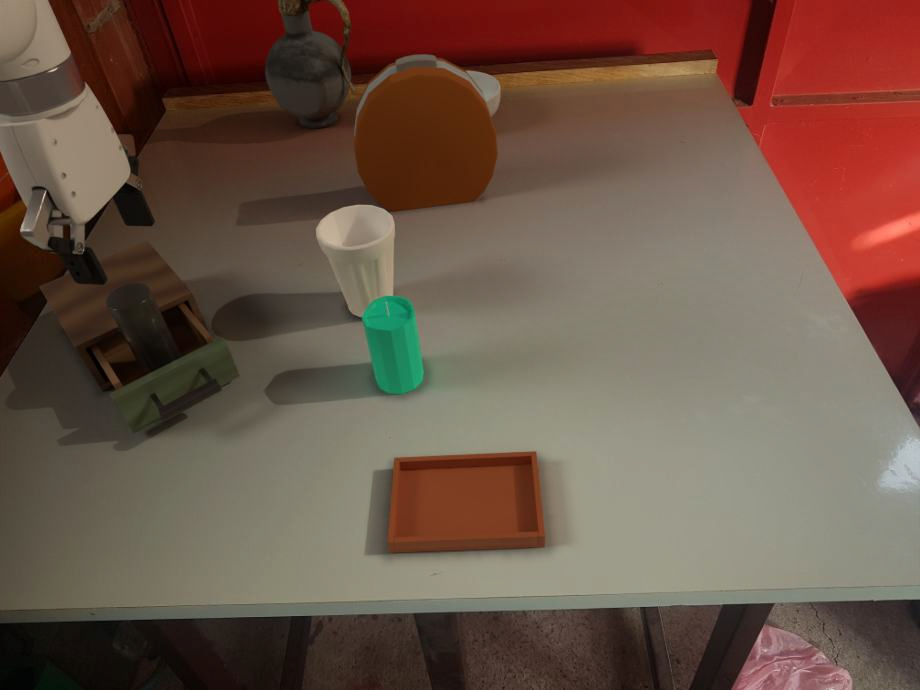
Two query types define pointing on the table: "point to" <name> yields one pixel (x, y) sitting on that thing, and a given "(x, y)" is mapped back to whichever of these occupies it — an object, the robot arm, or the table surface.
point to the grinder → (143, 326)
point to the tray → (466, 502)
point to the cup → (360, 252)
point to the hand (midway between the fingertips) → (117, 252)
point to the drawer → (166, 371)
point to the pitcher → (309, 66)
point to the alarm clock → (424, 135)
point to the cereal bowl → (488, 89)
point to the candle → (394, 344)
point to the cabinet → (87, 302)
